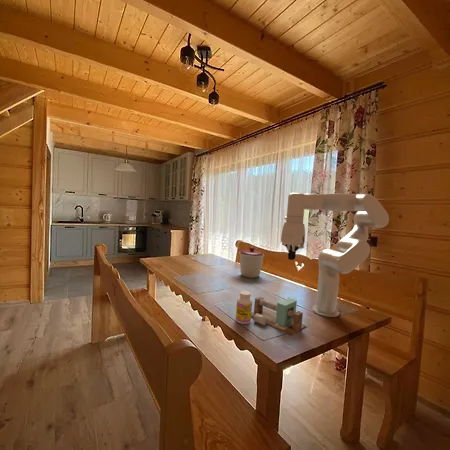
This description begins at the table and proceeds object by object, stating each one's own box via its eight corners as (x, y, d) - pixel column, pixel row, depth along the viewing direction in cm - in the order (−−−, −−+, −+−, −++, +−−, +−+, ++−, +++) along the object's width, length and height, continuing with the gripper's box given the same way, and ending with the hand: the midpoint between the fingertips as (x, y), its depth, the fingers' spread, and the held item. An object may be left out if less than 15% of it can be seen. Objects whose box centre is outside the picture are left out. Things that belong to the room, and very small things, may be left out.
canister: (256, 272, 197) (258, 244, 195) (267, 279, 180) (269, 249, 178) (233, 272, 191) (235, 244, 190) (243, 280, 174) (245, 249, 173)
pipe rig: (263, 308, 128) (264, 293, 128) (305, 326, 112) (307, 309, 112) (247, 315, 120) (248, 299, 119) (291, 335, 104) (293, 317, 103)
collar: (287, 317, 117) (288, 297, 116) (294, 320, 114) (296, 300, 113) (275, 322, 111) (277, 302, 110) (283, 326, 108) (285, 305, 107)
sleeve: (255, 323, 115) (259, 316, 116) (264, 327, 111) (268, 320, 113) (252, 318, 113) (256, 311, 114) (261, 322, 109) (266, 315, 111)
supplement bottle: (233, 322, 112) (235, 293, 111) (238, 316, 118) (240, 289, 117) (248, 325, 110) (250, 296, 108) (252, 319, 116) (254, 291, 115)
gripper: (276, 218, 121) (273, 257, 123) (305, 221, 111) (302, 263, 112) (285, 218, 126) (282, 255, 128) (314, 221, 116) (310, 261, 117)
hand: (291, 259), depth 120 cm, fingers closed
